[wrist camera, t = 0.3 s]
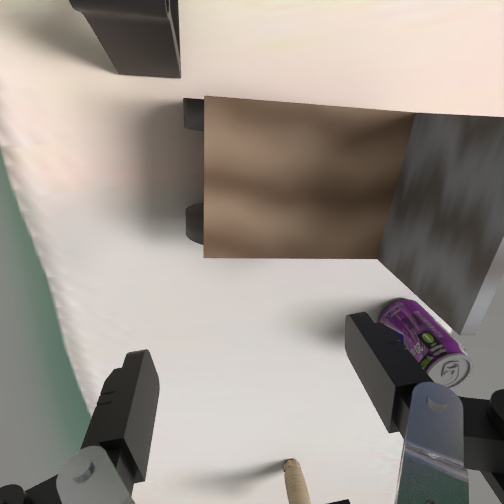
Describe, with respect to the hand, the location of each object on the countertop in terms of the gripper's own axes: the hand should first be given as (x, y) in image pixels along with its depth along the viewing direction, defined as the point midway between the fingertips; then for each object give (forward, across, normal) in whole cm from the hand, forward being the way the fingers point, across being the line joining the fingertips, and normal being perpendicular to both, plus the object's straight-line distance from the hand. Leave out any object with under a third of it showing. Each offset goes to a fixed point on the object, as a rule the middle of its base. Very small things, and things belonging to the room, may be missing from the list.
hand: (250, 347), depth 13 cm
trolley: (+28, -8, 0) cm, 29 cm away
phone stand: (+28, +5, -16) cm, 33 cm away
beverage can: (+28, -24, +25) cm, 44 cm away
